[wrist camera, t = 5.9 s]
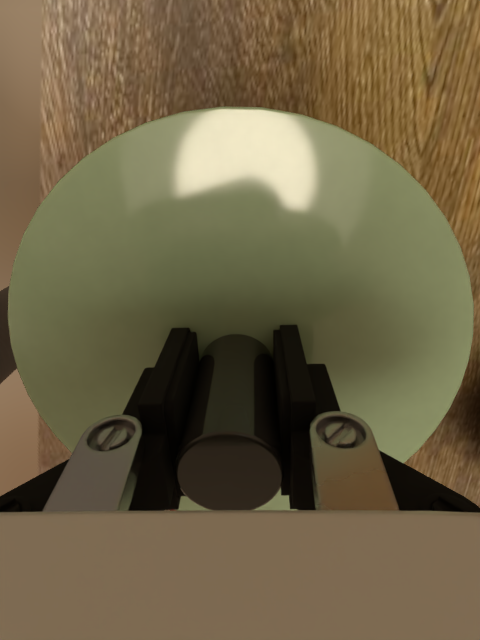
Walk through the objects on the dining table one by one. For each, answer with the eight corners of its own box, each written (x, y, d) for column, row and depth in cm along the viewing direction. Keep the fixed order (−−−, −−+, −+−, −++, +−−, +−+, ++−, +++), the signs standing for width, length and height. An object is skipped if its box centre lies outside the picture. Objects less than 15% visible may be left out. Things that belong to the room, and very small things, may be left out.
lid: (80, 498, 17) (4, 653, 12) (-39, 124, 10) (-315, 104, 5) (419, 496, 16) (497, 660, 11) (507, 94, 10) (784, 39, 5)
